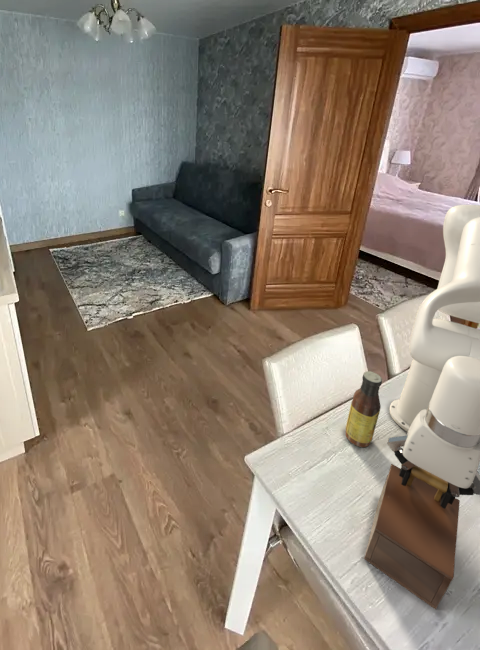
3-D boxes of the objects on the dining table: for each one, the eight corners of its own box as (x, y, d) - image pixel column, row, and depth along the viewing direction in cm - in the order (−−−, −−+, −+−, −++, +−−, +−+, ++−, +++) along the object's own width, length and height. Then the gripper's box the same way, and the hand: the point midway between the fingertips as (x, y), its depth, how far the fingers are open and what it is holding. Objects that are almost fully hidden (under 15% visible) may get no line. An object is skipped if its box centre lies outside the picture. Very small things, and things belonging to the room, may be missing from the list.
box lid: (390, 465, 72) (397, 447, 69) (458, 502, 65) (469, 483, 62) (374, 530, 62) (381, 511, 59) (451, 580, 56) (464, 562, 53)
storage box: (378, 501, 75) (388, 474, 72) (441, 539, 69) (455, 511, 65) (363, 559, 66) (374, 530, 62) (435, 609, 59) (451, 581, 56)
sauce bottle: (374, 451, 86) (393, 390, 79) (347, 446, 87) (363, 386, 80) (366, 428, 92) (383, 370, 85) (341, 424, 93) (356, 366, 86)
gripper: (518, 436, 56) (480, 504, 64) (398, 385, 66) (377, 449, 74) (522, 472, 51) (480, 541, 58) (391, 411, 61) (369, 477, 68)
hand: (423, 489), depth 66 cm, fingers closed on box lid, 5 cm apart
